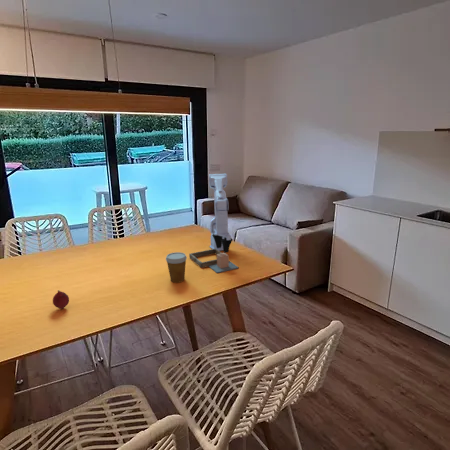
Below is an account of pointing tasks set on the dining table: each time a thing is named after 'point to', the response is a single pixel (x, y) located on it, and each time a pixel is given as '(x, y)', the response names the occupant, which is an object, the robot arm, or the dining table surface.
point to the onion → (60, 299)
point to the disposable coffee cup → (176, 266)
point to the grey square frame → (203, 253)
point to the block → (222, 260)
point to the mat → (219, 270)
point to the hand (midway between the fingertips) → (222, 250)
